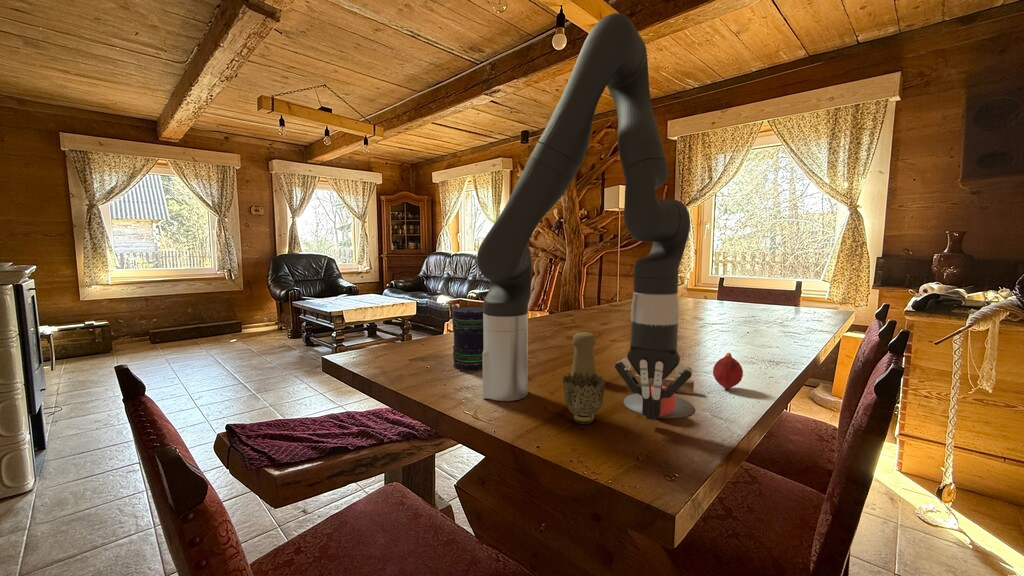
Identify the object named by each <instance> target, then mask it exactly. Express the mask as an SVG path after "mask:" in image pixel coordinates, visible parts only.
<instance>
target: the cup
mask: <svg viewBox="0 0 1024 576" xmlns="http://www.w3.org/2000/svg"><path fill="white" fill-rule="evenodd" d="M589 375H590V374H589V373H588V372H587V373H586V374H585V376H584V375H583V374H582V373H581V372H579V373H578V374H577V373H576V372H575V373H574V375H573V376H571V374H570V373H568V375H565V374H563V377H562V383H563V386H562V387H563V393H564V400H565V404H566V407H567V409H568V410H569V411H570V412H571V413H572V418H573V421H574V422H575V423H577V424H580V425H589V424H591V423H592V422H594V419H595V417H594V415H595V414H597V413H598V412H599V411H600V410H601V407H602V405H603V401H604V393H605V387H606V378H605V379H604V377H603V375H598V374H597V372H596V373H594V374H593V375H591V376H589Z"/></svg>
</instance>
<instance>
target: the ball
mask: <svg viewBox="0 0 1024 576" xmlns="http://www.w3.org/2000/svg"><path fill="white" fill-rule="evenodd" d="M663 388H666V387H665V386H662V389H663ZM651 395H653V387H651ZM675 397H676V396H675V393H674V394H673V395H672V396H671V397H670V398H662V399H661V412H660V415H659V416H666V415H668V414H670V413H671V412H672V411H673V410H674V408H675V405H676V399H675Z"/></svg>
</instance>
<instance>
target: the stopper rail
mask: <svg viewBox="0 0 1024 576" xmlns="http://www.w3.org/2000/svg"><path fill="white" fill-rule="evenodd" d="M634 376H635V378H636V379H637V381H638V382H639V383H640V385H641V376H639V375H638V374H637V373H635V374H634ZM675 378H676V377H675ZM675 378H673V377H667V378H665V379H663V384H662V386H665V387H667V386H668V385H669V384H670V383H671V382H672V381H673V380H674V379H675ZM653 384H654V379H653V378H651V387H653ZM694 387H695V380H691V379H688V380H687V381H686V382H685V383H684V384H683V385H682V386H681V387H680V388H679V389H678V390H677V391H676V392H675V393H678V394H687V395H694V392H695V391H694V390H695V389H694Z"/></svg>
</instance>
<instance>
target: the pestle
mask: <svg viewBox="0 0 1024 576" xmlns="http://www.w3.org/2000/svg"><path fill="white" fill-rule="evenodd" d="M596 341H597V340H596V336H595V335H594V334H593V333H591V332H587V331H585V332H583V331H580V332H576V333H574V335H573V337H572V344H573V346H574V352H573V358H572V359H573V360H572V367H571V374H570V375H571V376H573V375H574V373H575V372H576V373H577V374H578V373H579V372H581V373H582V374H583V375H584V376H585V374H586V373H587V372H588V373H589V374H590V375H589V376H591V375H593V374H594V373H596V374H597V371H596V362H595V354H594V353H595V352H594V346H595V345H596Z"/></svg>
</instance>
